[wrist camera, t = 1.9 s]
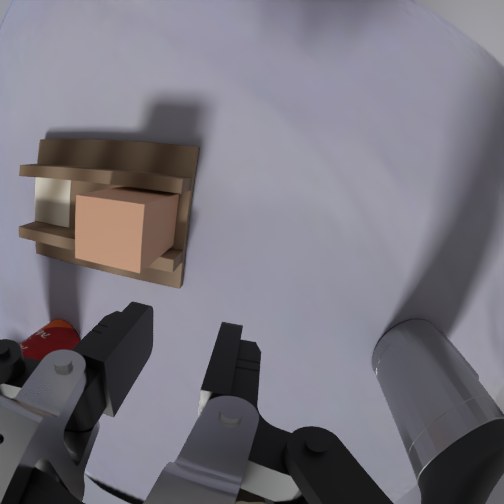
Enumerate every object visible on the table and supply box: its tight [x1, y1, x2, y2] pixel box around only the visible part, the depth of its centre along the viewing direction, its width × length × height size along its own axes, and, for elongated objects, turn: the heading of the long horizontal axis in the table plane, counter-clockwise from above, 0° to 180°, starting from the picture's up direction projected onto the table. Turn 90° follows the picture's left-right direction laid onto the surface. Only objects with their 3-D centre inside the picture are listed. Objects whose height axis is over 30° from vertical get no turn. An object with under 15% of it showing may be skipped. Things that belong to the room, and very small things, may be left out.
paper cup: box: [19, 319, 80, 360], centre depth 27 cm, size 8×8×14 cm
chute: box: [19, 139, 199, 289], centre depth 27 cm, size 20×14×4 cm
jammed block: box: [75, 186, 179, 273], centre depth 24 cm, size 6×5×8 cm
